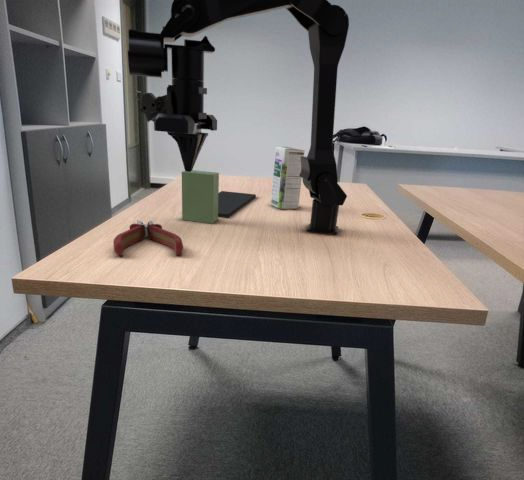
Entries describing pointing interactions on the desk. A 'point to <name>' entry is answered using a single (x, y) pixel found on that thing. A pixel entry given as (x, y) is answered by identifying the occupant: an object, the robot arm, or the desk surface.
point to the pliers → (153, 233)
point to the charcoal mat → (232, 202)
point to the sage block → (200, 196)
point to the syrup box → (286, 178)
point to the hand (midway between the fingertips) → (188, 171)
